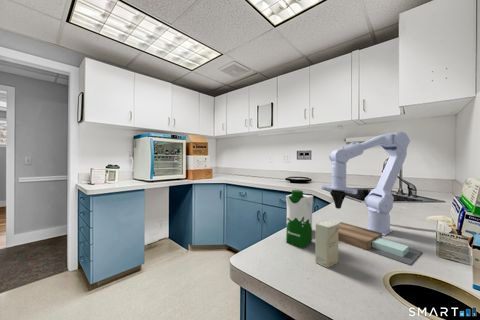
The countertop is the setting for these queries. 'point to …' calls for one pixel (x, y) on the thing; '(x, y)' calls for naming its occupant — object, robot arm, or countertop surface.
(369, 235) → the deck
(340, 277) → the countertop surface
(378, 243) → the mint green flat block
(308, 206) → the milk carton
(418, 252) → the mat
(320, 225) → the skincare box
